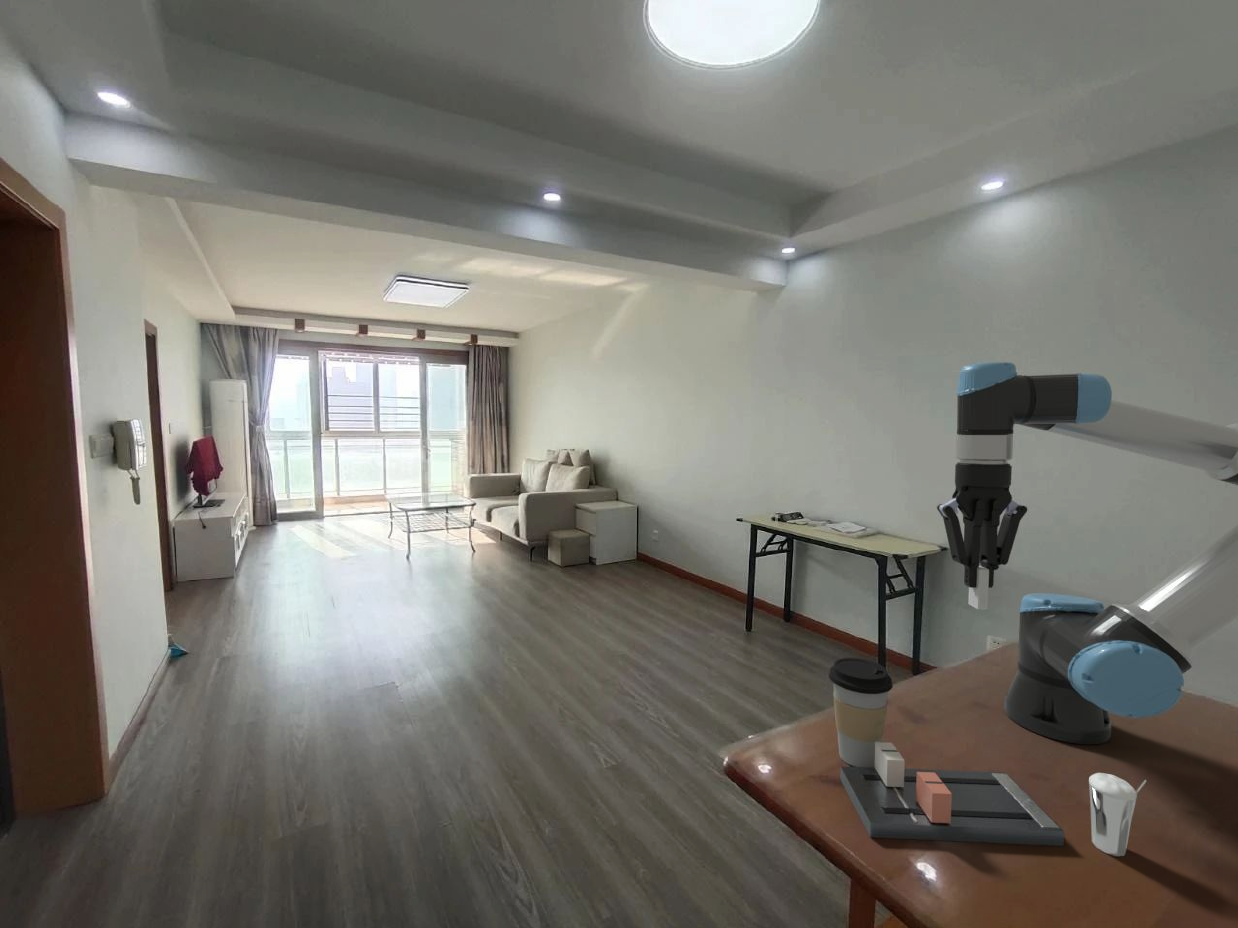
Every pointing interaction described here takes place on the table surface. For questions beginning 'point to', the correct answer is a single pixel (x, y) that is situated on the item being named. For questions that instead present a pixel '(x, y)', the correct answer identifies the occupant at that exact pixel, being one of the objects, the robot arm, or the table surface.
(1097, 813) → the milkshake
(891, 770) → the fader
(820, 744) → the table surface
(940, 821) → the fader
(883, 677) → the coffee cup
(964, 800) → the console
